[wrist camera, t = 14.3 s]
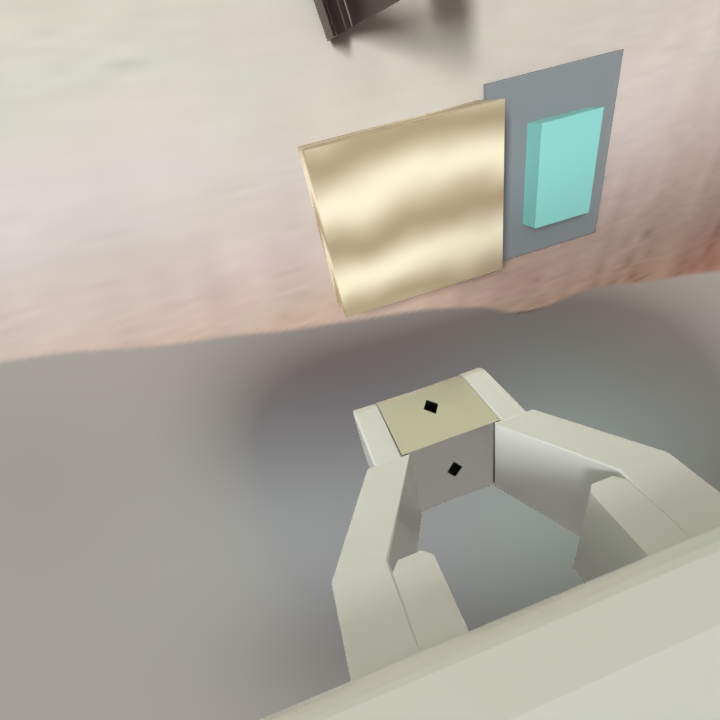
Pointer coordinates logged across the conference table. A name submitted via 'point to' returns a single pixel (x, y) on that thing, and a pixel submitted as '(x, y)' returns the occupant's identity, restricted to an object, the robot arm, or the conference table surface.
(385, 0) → the portable electronic device stand
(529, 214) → the turquoise rectangular block
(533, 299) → the conference table surface
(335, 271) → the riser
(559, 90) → the mat
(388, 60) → the conference table surface
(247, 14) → the conference table surface
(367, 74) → the conference table surface
